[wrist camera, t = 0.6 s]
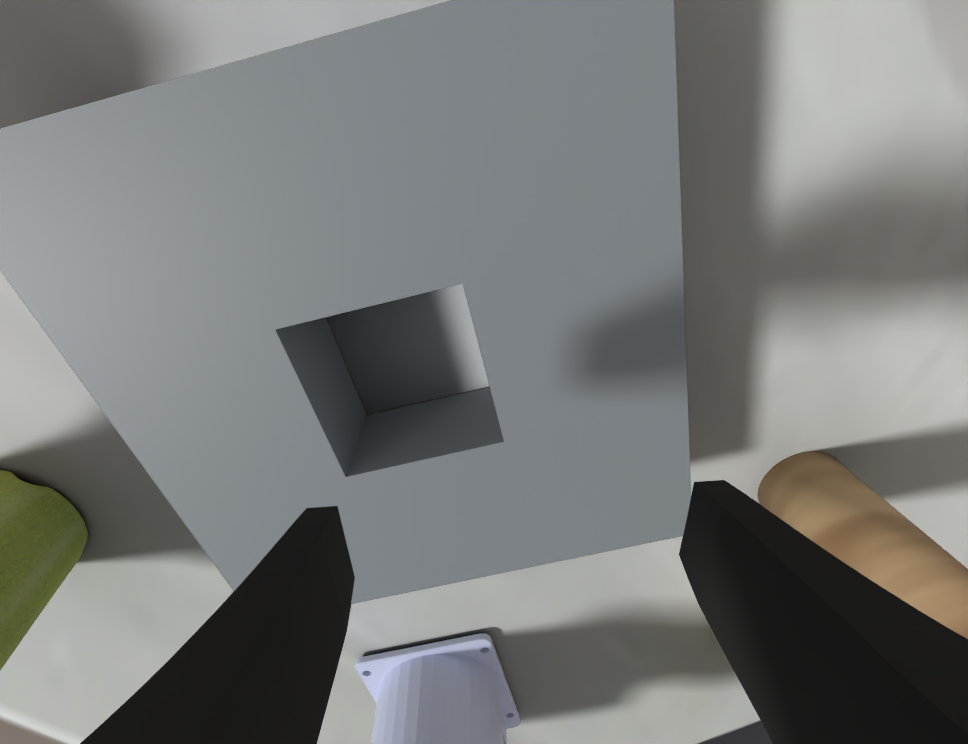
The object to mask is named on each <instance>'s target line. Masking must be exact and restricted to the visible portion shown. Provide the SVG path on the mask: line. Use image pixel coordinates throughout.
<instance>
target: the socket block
mask: <svg viewBox="0 0 968 744" xmlns="http://www.w3.org/2000/svg"><path fill="white" fill-rule="evenodd" d="M0 271H1V273H2V274H3V275H4V277H5V278H6V279H7V281H8V282H9V284H10V285H11V286H12V288H13V289H14V290H15V292H16V293H17V295H18V296H19V297H20V299H21V300H22V301H23V303H24V304H25V306H26V307H27V308H28V310H29V311H30V312H31V314H32V315H33V316H34V318H35V319H36V321H37V322H38V323H39V325H40V326H41V327H42V329H43V330H44V332H45V333H46V334H47V336H48V337H49V338H50V340H51V341H52V343H53V344H54V345H55V347H56V348H57V349H58V351H59V352H60V354H61V355H62V356H63V358H64V359H65V360H66V362H67V363H68V365H69V366H70V367H71V369H72V370H73V371H74V373H75V374H76V375H77V377H78V378H79V380H80V381H81V382H82V384H83V385H84V386H85V388H86V389H87V391H88V392H89V393H90V395H91V396H92V397H93V399H94V400H95V402H96V403H97V404H98V406H99V407H100V408H101V410H102V411H103V413H104V414H105V415H106V417H107V418H108V419H109V421H110V422H111V423H112V425H113V426H114V428H115V429H116V430H117V432H118V433H119V434H120V436H121V437H122V439H123V440H124V441H125V443H126V444H127V445H128V447H129V448H130V450H131V451H132V452H133V454H134V455H135V456H136V458H137V459H138V461H139V462H140V463H141V465H142V466H143V467H144V469H145V470H146V471H147V473H148V474H149V476H150V477H151V478H152V480H153V481H154V482H155V484H156V485H157V487H158V488H159V489H160V491H161V492H162V493H163V495H164V496H165V498H166V499H167V500H168V502H169V503H170V504H171V506H172V507H173V509H174V510H175V511H176V513H177V514H178V515H179V517H180V518H181V519H182V521H183V522H184V524H185V525H186V526H187V528H188V529H189V530H190V532H191V533H192V535H193V536H194V537H195V539H196V540H197V541H198V543H199V544H200V546H201V547H202V548H203V550H204V551H205V552H206V554H207V555H208V557H209V558H210V559H211V561H212V562H213V563H214V565H215V566H216V567H217V569H218V570H219V572H220V573H221V574H222V576H223V577H224V578H225V580H226V581H227V583H228V584H229V585H230V587H231V588H232V589H233V591H235V590H236V588H237V587H238V586H239V585H240V584H241V583H242V582H243V581H244V579H245V578H246V577H247V576H248V575H249V574H250V573H251V572H252V571H253V569H254V568H255V567H256V566H257V565H258V564H259V562H260V561H261V560H262V559H263V558H264V557H265V556H266V554H267V553H268V552H269V551H270V550H271V549H272V547H273V546H274V545H275V544H276V543H277V542H278V540H279V539H280V538H281V537H282V536H283V534H284V533H285V532H286V531H287V530H288V529H289V527H290V526H291V525H292V524H293V523H294V522H295V520H296V519H297V518H298V517H299V516H300V515H301V514H302V513H303V511H304V510H305V509H306V508H314V507H329V506H338V510H339V514H340V518H341V522H342V526H343V531H344V535H345V539H346V543H347V547H348V551H349V555H350V559H351V564H352V568H353V572H354V576H355V580H354V587H353V594H352V601H351V604H354V603H359V602H364V601H369V600H373V599H378V598H383V597H388V596H393V595H398V594H403V593H407V592H412V591H417V590H422V589H427V588H432V587H437V586H442V585H446V584H451V583H456V582H461V581H466V580H471V579H476V578H480V577H485V576H490V575H495V574H500V573H505V572H510V571H515V570H519V569H524V568H529V567H534V566H539V565H544V564H549V563H553V562H558V561H563V560H568V559H573V558H578V557H583V556H588V555H592V554H597V553H602V552H607V551H612V550H617V549H622V548H626V547H631V546H636V545H641V544H646V543H651V542H656V541H660V540H665V539H670V538H675V537H680V536H683V534H684V529H685V524H686V519H687V515H688V510H689V505H690V500H691V480H690V451H689V422H688V393H687V364H686V335H685V306H684V277H683V248H682V220H681V191H680V162H679V133H678V104H677V75H676V46H675V17H674V0H451V1H447V2H444V3H440V4H437V5H433V6H430V7H426V8H423V9H419V10H416V11H412V12H409V13H405V14H402V15H398V16H394V17H391V18H387V19H384V20H380V21H377V22H373V23H370V24H366V25H363V26H359V27H356V28H352V29H349V30H345V31H342V32H338V33H335V34H331V35H328V36H324V37H321V38H317V39H314V40H310V41H306V42H303V43H299V44H296V45H292V46H289V47H285V48H282V49H278V50H275V51H271V52H268V53H264V54H261V55H257V56H254V57H250V58H247V59H243V60H240V61H236V62H233V63H229V64H226V65H222V66H219V67H215V68H211V69H208V70H204V71H201V72H197V73H194V74H190V75H187V76H183V77H180V78H176V79H173V80H169V81H166V82H162V83H159V84H155V85H152V86H148V87H145V88H141V89H138V90H134V91H131V92H127V93H124V94H120V95H116V96H113V97H109V98H106V99H102V100H99V101H95V102H92V103H88V104H85V105H81V106H78V107H74V108H71V109H67V110H64V111H60V112H57V113H53V114H50V115H46V116H43V117H39V118H36V119H32V120H28V121H25V122H21V123H18V124H14V125H11V126H7V127H4V128H0ZM459 284H463V287H464V291H465V295H466V298H467V302H468V306H469V310H470V314H471V317H472V321H473V325H474V329H475V333H476V336H477V340H478V344H479V348H480V352H481V356H482V359H483V363H484V367H485V371H486V375H487V378H488V382H489V386H490V387H487V388H483V389H479V390H474V391H470V392H466V393H461V394H457V395H453V396H448V397H444V398H440V399H435V400H431V401H427V402H422V403H418V404H414V405H409V406H405V407H401V408H396V409H392V410H388V411H383V412H379V413H375V414H370V415H366V412H365V410H364V408H363V405H362V403H361V401H360V398H359V396H358V393H357V391H356V389H355V386H354V384H353V381H352V379H351V377H350V374H349V372H348V369H347V367H346V365H345V362H344V360H343V357H342V355H341V353H340V350H339V348H338V345H337V343H336V341H335V338H334V336H333V334H332V331H331V329H330V326H329V324H328V322H327V319H326V317H329V316H333V315H337V314H341V313H345V312H349V311H353V310H357V309H361V308H365V307H369V306H374V305H378V304H382V303H386V302H390V301H394V300H398V299H402V298H406V297H410V296H414V295H418V294H422V293H426V292H431V291H435V290H439V289H443V288H447V287H451V286H455V285H459Z"/></svg>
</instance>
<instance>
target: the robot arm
mask: <svg viewBox="0 0 968 744" xmlns="http://www.w3.org/2000/svg"><path fill="white" fill-rule="evenodd" d="M679 556H680V558H681V561H682V563H683V566H684V569H685V571H686V574H687V577H688V579H689V582H690V584H691V587H692V589H693V592H694V594H695V596H696V599H697V601H698V604H699V606H700V608H701V610H702V612H703V613H704V615H705V617H706V619H707V621H708V623H709V625H710V627H711V629H712V631H713V632H714V634H715V636H716V638H717V640H718V642H719V644H720V646H721V647H722V649H723V651H724V653H725V655H726V657H727V659H728V660H729V662H730V664H731V666H732V668H733V670H734V671H735V673H736V675H737V677H738V679H739V681H740V683H741V684H742V686H743V688H744V690H745V692H746V694H747V695H748V697H749V699H750V701H751V703H752V705H753V707H754V708H755V710H756V712H757V714H758V716H759V718H760V720H761V721H762V723H763V725H764V727H765V729H766V731H767V733H768V735H769V737H770V739H771V741H772V743H773V744H968V639H967V638H965V637H963V636H961V635H960V634H958V633H956V632H954V631H953V630H951V629H949V628H947V627H946V626H944V625H942V624H941V623H939V622H937V621H936V620H934V619H932V618H931V617H929V616H927V615H926V614H924V613H922V612H921V611H919V610H917V609H916V608H914V607H913V606H911V605H909V604H908V603H906V602H905V601H903V600H902V599H900V598H898V597H897V596H895V595H894V594H892V593H890V592H889V591H887V590H886V589H884V588H882V587H881V586H879V585H878V584H876V583H874V582H873V581H871V580H870V579H868V578H867V577H865V576H864V575H862V574H861V573H859V572H858V571H856V570H855V569H853V568H852V567H850V566H848V565H847V564H845V563H844V562H842V561H841V560H840V559H838V558H837V557H835V556H834V555H832V554H831V553H829V552H828V551H826V550H825V549H823V548H822V547H820V546H819V545H817V544H816V543H814V542H813V541H812V540H810V539H809V538H807V537H806V536H804V535H803V534H801V533H800V532H799V531H797V530H796V529H794V528H793V527H791V526H790V525H789V524H787V523H786V522H784V521H783V520H781V519H780V518H779V517H777V516H776V515H774V514H773V513H771V512H770V511H769V510H767V509H766V508H764V507H763V506H761V505H760V504H759V503H757V502H756V501H754V500H753V499H751V498H750V497H749V496H747V495H746V494H744V493H743V492H741V491H740V490H738V489H737V488H735V487H734V486H732V485H731V484H729V483H728V482H726V481H725V480H719V481H704V482H694V486H693V491H692V496H691V500H690V505H689V510H688V515H687V519H686V524H685V529H684V534H683V539H682V543H681V548H680V553H679ZM354 580H355V576H354V572H353V568H352V564H351V559H350V555H349V551H348V547H347V543H346V539H345V535H344V531H343V526H342V522H341V518H340V514H339V510H338V506H329V507H314V508H306V509H305V510H304V511H303V513H302V514H301V515H300V516H299V517H298V518H297V519H296V520H295V522H294V523H293V524H292V525H291V526H290V527H289V529H288V530H287V531H286V532H285V533H284V534H283V536H282V537H281V538H280V539H279V540H278V542H277V543H276V544H275V545H274V546H273V547H272V549H271V550H270V551H269V552H268V553H267V554H266V556H265V557H264V558H263V559H262V560H261V561H260V562H259V564H258V565H257V566H256V567H255V568H254V569H253V571H252V572H251V573H250V574H249V575H248V576H247V577H246V578H245V579H244V581H243V582H242V583H241V584H240V585H239V586H238V587H237V588H236V590H235V591H234V592H233V593H232V594H231V595H230V596H229V597H228V599H227V600H226V601H225V602H224V603H223V604H222V605H221V606H220V607H219V608H218V610H217V611H216V612H215V613H214V614H213V615H212V616H211V617H210V618H209V619H208V620H207V621H206V622H205V623H204V624H203V625H202V626H201V627H200V628H199V630H198V631H197V632H196V633H195V634H194V635H193V636H192V637H191V638H190V639H189V640H188V641H187V642H186V643H185V644H184V645H183V646H182V647H181V648H180V649H179V650H178V651H177V652H176V653H175V654H174V656H173V657H172V658H171V659H170V660H169V661H168V662H167V663H166V664H165V665H164V666H163V667H162V668H161V669H159V670H158V671H157V672H156V673H155V674H154V675H153V676H152V677H151V678H150V679H149V680H148V681H147V682H146V683H145V684H144V685H143V686H142V687H141V688H140V689H139V690H138V691H137V692H136V693H135V694H134V695H133V696H132V697H131V698H129V699H128V700H127V701H126V702H125V703H124V704H123V705H122V706H121V707H120V708H119V709H118V710H117V711H115V712H114V713H113V714H112V715H111V716H110V717H109V718H108V719H107V720H106V721H105V722H104V723H103V724H101V725H100V726H99V727H98V728H97V729H96V730H95V731H94V732H93V733H91V734H90V735H89V736H88V737H87V738H86V739H85V740H84V741H82V742H81V743H80V744H317V740H318V737H319V733H320V729H321V725H322V722H323V718H324V714H325V711H326V707H327V703H328V700H329V696H330V692H331V688H332V685H333V681H334V677H335V674H336V670H337V666H338V662H339V658H340V655H341V651H342V647H343V643H344V639H345V635H346V632H347V626H348V620H349V614H350V608H351V601H352V594H353V587H354ZM355 669H356V671H357V672H358V674H359V675H360V677H361V679H362V680H363V682H364V683H365V685H366V687H367V688H368V690H369V692H370V693H371V695H372V696H373V698H374V700H375V701H376V703H377V706H376V713H375V719H374V726H373V733H372V740H371V744H507V737H506V729H508V728H513V727H517V726H518V725H519V724H520V715H519V713H518V710H517V707H516V705H515V702H514V699H513V696H512V694H511V691H510V688H509V685H508V683H507V680H506V677H505V675H504V672H503V669H502V666H501V664H500V661H499V658H498V656H497V653H496V650H495V647H494V645H493V642H492V639H491V637H490V636H489V635H488V634H485V633H480V634H475V635H470V636H465V637H460V638H455V639H450V640H445V641H440V642H435V643H430V644H425V645H420V646H415V647H410V648H405V649H400V650H394V651H389V652H384V653H379V654H374V655H369V656H364V657H361V658H359V659H357V661H356V665H355Z"/></svg>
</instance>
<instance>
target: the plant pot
mask: <svg viewBox="0 0 968 744" xmlns="http://www.w3.org/2000/svg"><path fill="white" fill-rule="evenodd" d="M87 539H88V532H87V528H86V525H85V523H84V520H83V519H82V517H81V515H80V514H79V512H78V511H77V510H76V509H75V508H74V506H73V505H72V504H71V503H70V502H69V501H68V500H67V499H65V498H64V497H63V496H62V495H60V494H59V493H58V492H56V491H55V490H53V489H51V488H50V487H46V486H37V485H33V484H29V483H27V482H24V481H22V480H20V479H19V478H17V477H16V476H15V475H14V474H13V473H12V472H9V471H4V470H0V670H1V669H2V667H3V666H4V664H5V663H6V662H7V660H8V659H9V657H10V656H11V655H12V653H13V652H14V650H15V649H16V647H17V646H18V645H19V643H20V642H21V640H22V639H23V637H24V636H25V634H26V633H27V632H28V630H29V629H30V627H31V626H32V624H33V623H34V622H35V620H36V619H37V617H38V616H39V615H40V613H41V612H42V610H43V609H44V607H45V606H46V605H47V603H48V602H49V600H50V599H51V598H52V596H53V595H54V593H55V592H56V591H57V589H58V588H59V586H60V585H61V583H62V582H63V581H64V579H65V578H66V576H67V575H68V574H69V572H70V571H71V570H72V568H73V567H74V566H75V564H76V563H77V562H78V560H79V559H80V557H81V555H82V553H83V550H84V548H85V545H86V542H87Z"/></svg>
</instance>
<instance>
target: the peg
mask: <svg viewBox="0 0 968 744" xmlns="http://www.w3.org/2000/svg"><path fill="white" fill-rule="evenodd" d="M758 500H759V503H760V505H761V506H763V507H764V508H766V509H767V510H769V511H770V512H771V513H773V514H774V515H776V516H777V517H779V518H780V519H781V520H783V521H784V522H786V523H787V524H789V525H790V526H791V527H793V528H794V529H796V530H797V531H799V532H800V533H801V534H803V535H804V536H806V537H807V538H809V539H810V540H812V541H813V542H814V543H816V544H817V545H819V546H820V547H822V548H823V549H825V550H826V551H828V552H829V553H831V554H832V555H834V556H835V557H837V558H838V559H840V560H841V561H842V562H844V563H845V564H847V565H848V566H850V567H852V568H853V569H855V570H856V571H858V572H859V573H861V574H862V575H864V576H865V577H867V578H868V579H870V580H871V581H873V582H874V583H876V584H878V585H879V586H881V587H882V588H884V589H886V590H887V591H889V592H890V593H892V594H894V595H895V596H897V597H898V598H900V599H902V600H903V601H905V602H906V603H908V604H909V605H911V606H913V607H914V608H916V609H917V610H919V611H921V612H922V613H924V614H926V615H927V616H929V617H931V618H932V619H934V620H936V621H937V622H939V623H941V624H942V625H944V626H946V627H947V628H949V629H951V630H953V631H954V632H956V633H958V634H960V635H961V636H963V637H965V638H967V639H968V569H967V568H966V567H965V566H963V565H962V564H961V563H960V562H959V561H957V560H956V559H955V558H954V557H953V556H951V555H950V554H949V553H948V552H947V551H945V550H944V549H943V548H942V547H941V546H939V545H938V544H937V543H936V542H935V541H933V540H932V539H931V538H930V537H929V536H927V535H926V534H925V533H924V532H923V531H921V530H920V529H919V528H918V527H917V526H915V525H914V524H913V523H912V522H911V521H909V520H908V519H907V518H906V517H905V516H903V515H902V514H901V513H900V512H899V511H897V510H896V509H895V508H894V507H893V506H891V505H890V504H889V503H888V502H887V501H885V500H884V499H883V498H882V497H881V496H879V495H878V494H877V493H876V492H875V491H873V490H872V489H871V488H870V487H869V486H867V485H866V484H865V483H864V482H862V481H861V480H860V479H859V478H858V477H856V476H855V475H854V474H853V473H852V472H850V471H849V470H848V469H847V468H846V467H844V466H843V465H842V464H841V463H840V462H838V461H837V460H836V459H835V458H834V457H832V456H831V455H829V454H826V453H823V452H804V453H800V454H796V455H793V456H791V457H789V458H786V459H785V460H783V461H781V462H780V463H778V464H777V465H775V466H774V467H773V468H772V469H771V470H770V471H769V472H768V473H767V474H766V475H765V477H764V478H763V480H762V481H761V483H760V486H759V489H758Z"/></svg>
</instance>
